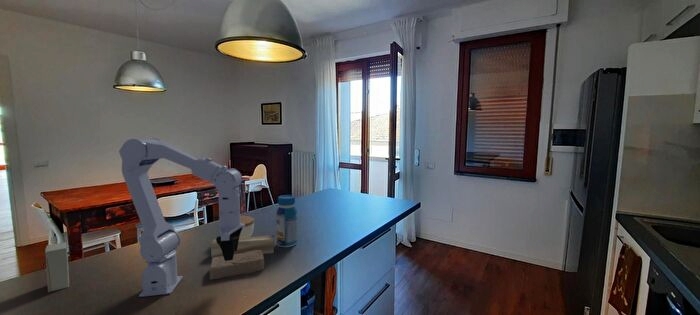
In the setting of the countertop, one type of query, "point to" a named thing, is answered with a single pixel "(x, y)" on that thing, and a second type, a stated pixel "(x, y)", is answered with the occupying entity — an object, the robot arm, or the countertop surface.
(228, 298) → the countertop surface
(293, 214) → the beverage bottle
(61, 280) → the skincare box
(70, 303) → the countertop surface
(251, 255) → the brick
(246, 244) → the batten
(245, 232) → the white round tub
